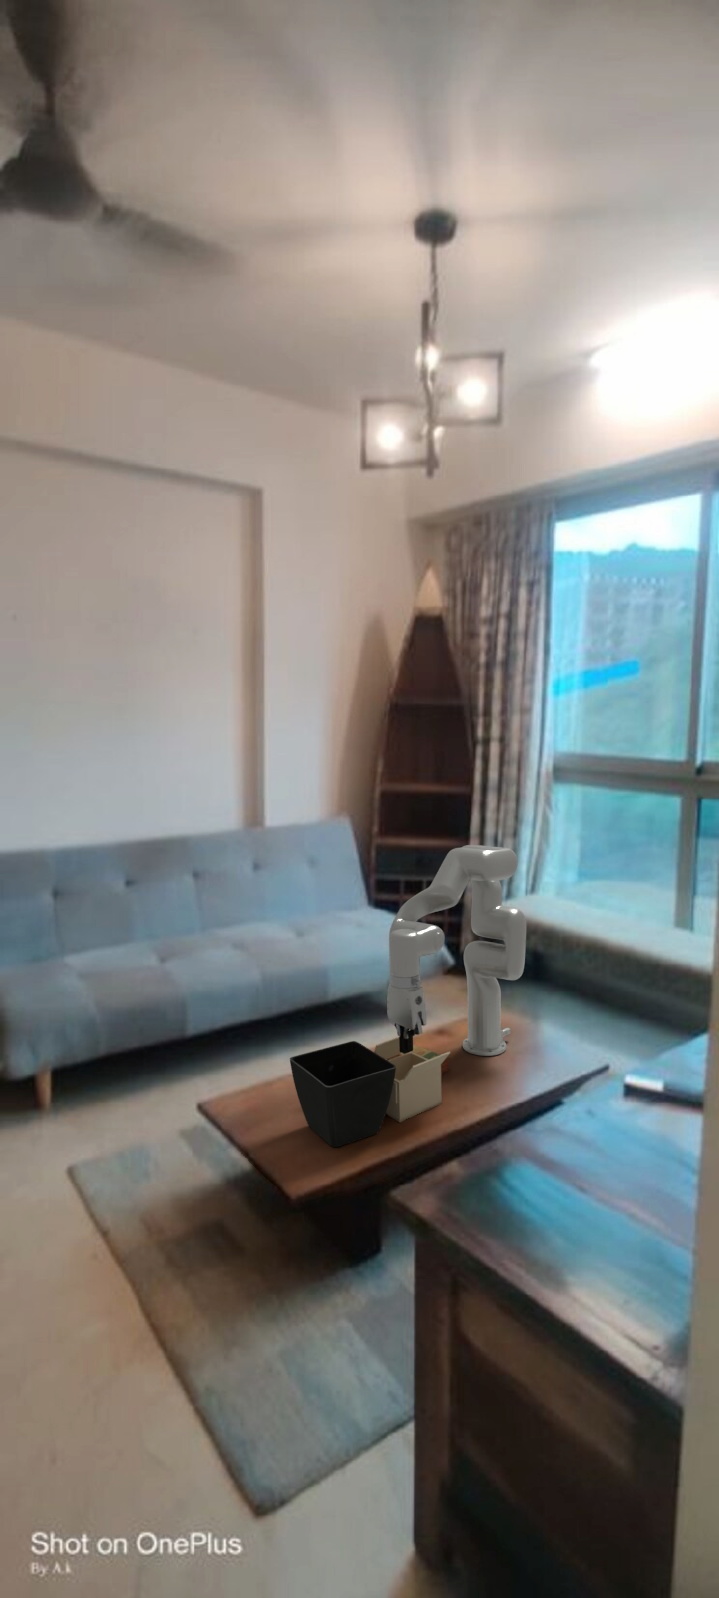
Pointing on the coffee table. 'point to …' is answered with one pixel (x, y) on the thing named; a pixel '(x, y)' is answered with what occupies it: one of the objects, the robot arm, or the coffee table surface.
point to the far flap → (388, 1048)
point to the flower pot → (343, 1091)
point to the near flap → (426, 1066)
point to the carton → (427, 1056)
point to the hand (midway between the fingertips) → (406, 1051)
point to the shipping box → (413, 1088)
